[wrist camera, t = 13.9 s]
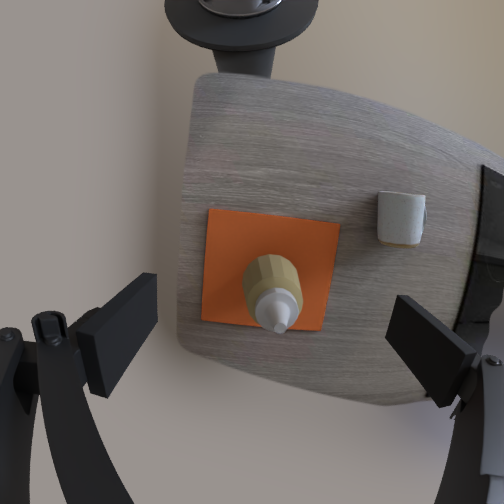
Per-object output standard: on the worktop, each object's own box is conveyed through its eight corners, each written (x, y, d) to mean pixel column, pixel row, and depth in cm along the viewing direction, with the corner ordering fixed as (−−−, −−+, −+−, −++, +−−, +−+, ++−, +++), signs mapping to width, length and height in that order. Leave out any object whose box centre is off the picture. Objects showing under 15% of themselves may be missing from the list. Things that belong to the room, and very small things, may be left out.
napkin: (209, 208, 42) (209, 208, 41) (339, 224, 42) (340, 224, 42) (201, 319, 45) (201, 320, 45) (320, 329, 46) (320, 330, 45)
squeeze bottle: (284, 305, 44) (303, 370, 27) (235, 290, 44) (226, 351, 26) (302, 258, 43) (335, 301, 25) (252, 241, 42) (252, 276, 25)
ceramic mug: (369, 241, 43) (391, 251, 35) (369, 190, 41) (392, 190, 33) (420, 240, 43) (446, 248, 35) (421, 193, 41) (448, 194, 34)
